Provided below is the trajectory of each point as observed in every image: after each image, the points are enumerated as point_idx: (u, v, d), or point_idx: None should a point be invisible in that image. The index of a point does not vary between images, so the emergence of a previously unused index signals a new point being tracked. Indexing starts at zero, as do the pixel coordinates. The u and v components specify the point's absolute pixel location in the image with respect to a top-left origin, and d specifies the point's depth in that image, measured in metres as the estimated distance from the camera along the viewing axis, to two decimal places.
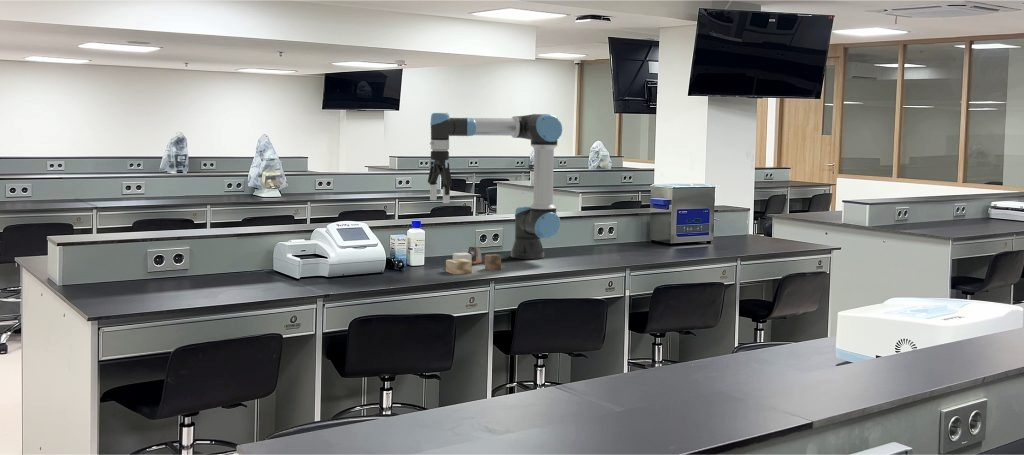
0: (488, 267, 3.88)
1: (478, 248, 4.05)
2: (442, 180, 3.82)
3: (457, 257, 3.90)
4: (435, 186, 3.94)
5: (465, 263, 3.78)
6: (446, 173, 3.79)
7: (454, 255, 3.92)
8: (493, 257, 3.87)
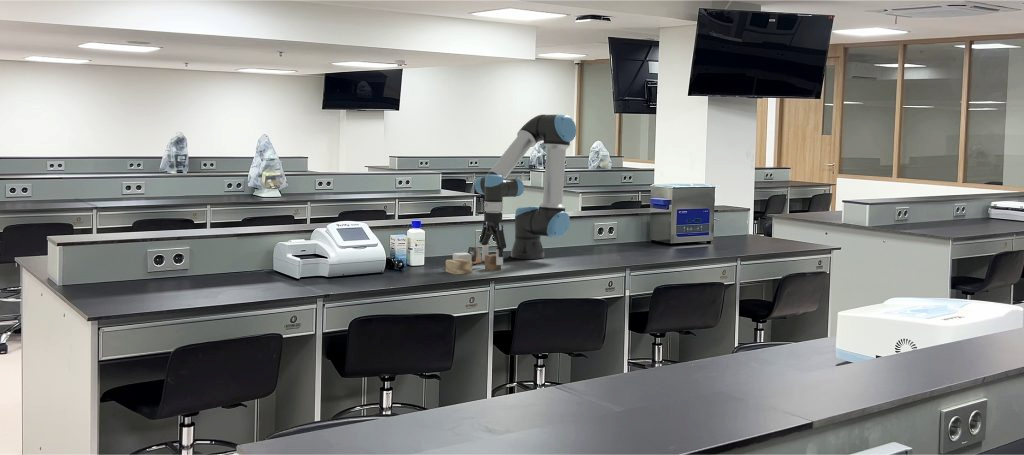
0: (488, 267, 3.88)
1: (478, 248, 4.05)
2: (496, 242, 3.83)
3: (457, 257, 3.90)
4: (487, 246, 3.95)
5: (465, 263, 3.78)
6: (500, 235, 3.81)
7: (454, 255, 3.92)
8: (493, 257, 3.87)
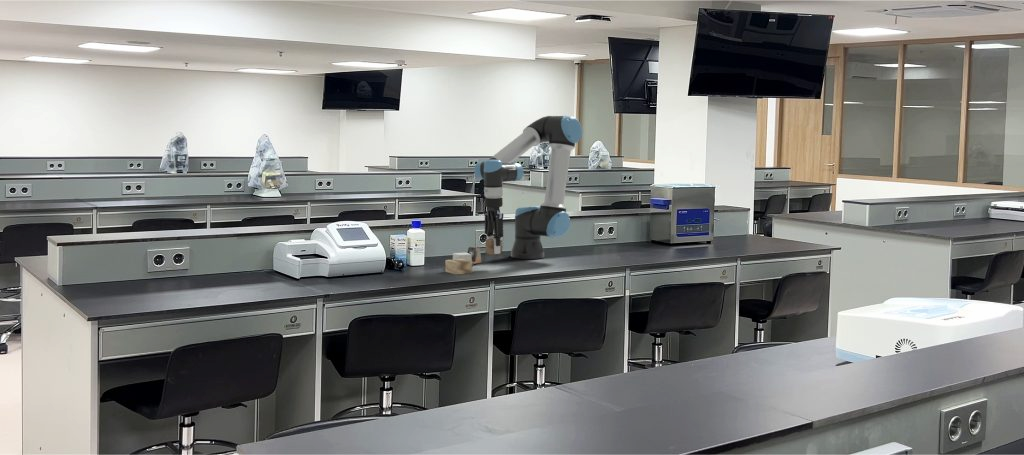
0: (489, 251, 3.87)
1: (477, 248, 4.04)
2: (494, 230, 3.85)
3: (457, 257, 3.90)
4: (493, 237, 3.91)
5: (466, 263, 3.79)
6: (499, 225, 3.82)
7: (454, 255, 3.92)
8: None
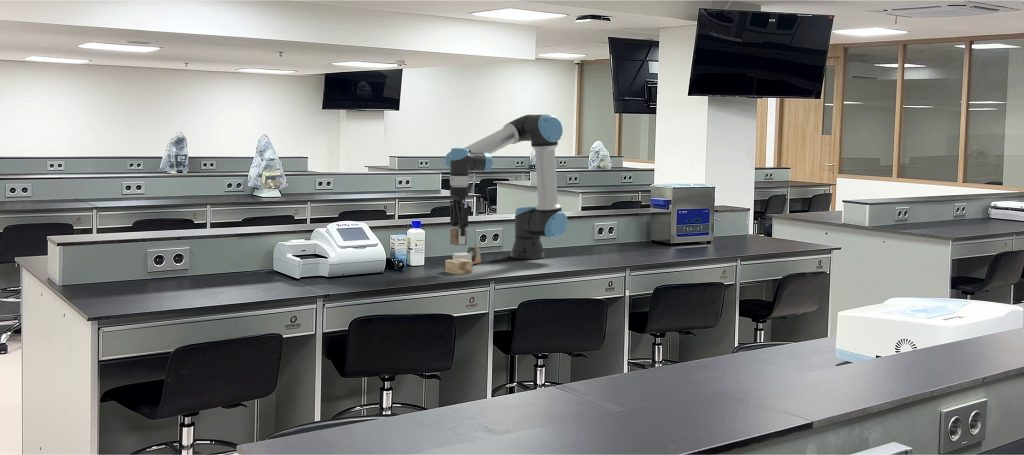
0: (453, 241, 3.78)
1: (477, 248, 4.04)
2: (459, 219, 3.76)
3: (457, 257, 3.90)
4: (458, 228, 3.82)
5: (466, 263, 3.79)
6: (464, 214, 3.73)
7: (454, 255, 3.92)
8: None
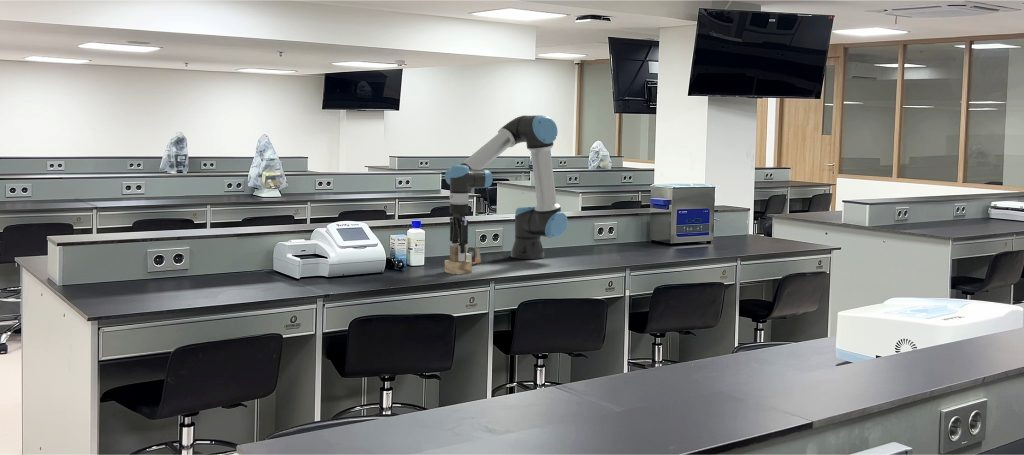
0: (453, 258, 3.79)
1: (477, 248, 4.04)
2: (458, 237, 3.77)
3: None
4: None
5: (466, 263, 3.79)
6: (464, 231, 3.74)
7: None
8: None
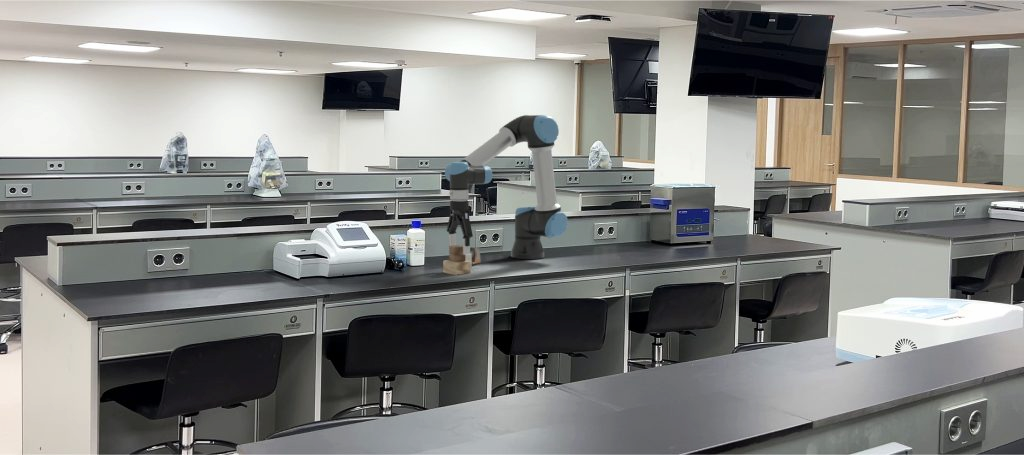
0: (452, 258, 3.79)
1: (477, 248, 4.04)
2: (462, 231, 3.74)
3: None
4: (454, 235, 3.86)
5: (464, 263, 3.78)
6: (466, 224, 3.72)
7: None
8: (457, 248, 3.77)
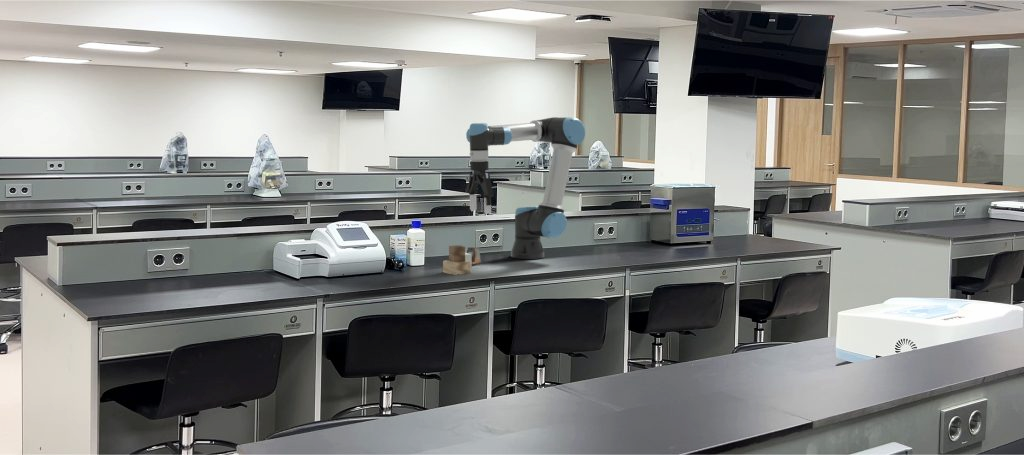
0: (452, 258, 3.79)
1: (477, 249, 4.03)
2: (483, 191, 3.82)
3: None
4: (475, 196, 3.94)
5: (464, 263, 3.78)
6: (487, 184, 3.80)
7: None
8: (457, 248, 3.77)
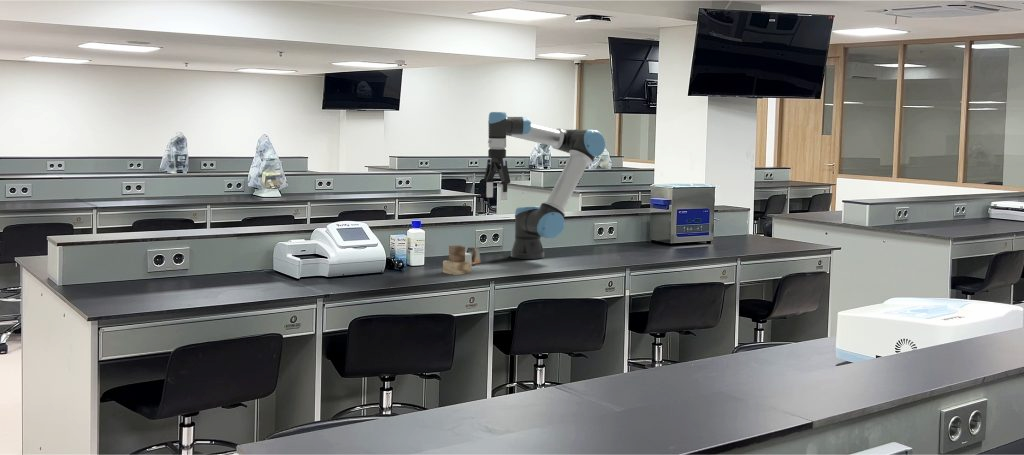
0: (452, 258, 3.78)
1: (477, 249, 4.03)
2: (500, 177, 3.91)
3: None
4: (491, 183, 4.03)
5: (464, 263, 3.78)
6: (504, 171, 3.89)
7: None
8: (457, 248, 3.77)
